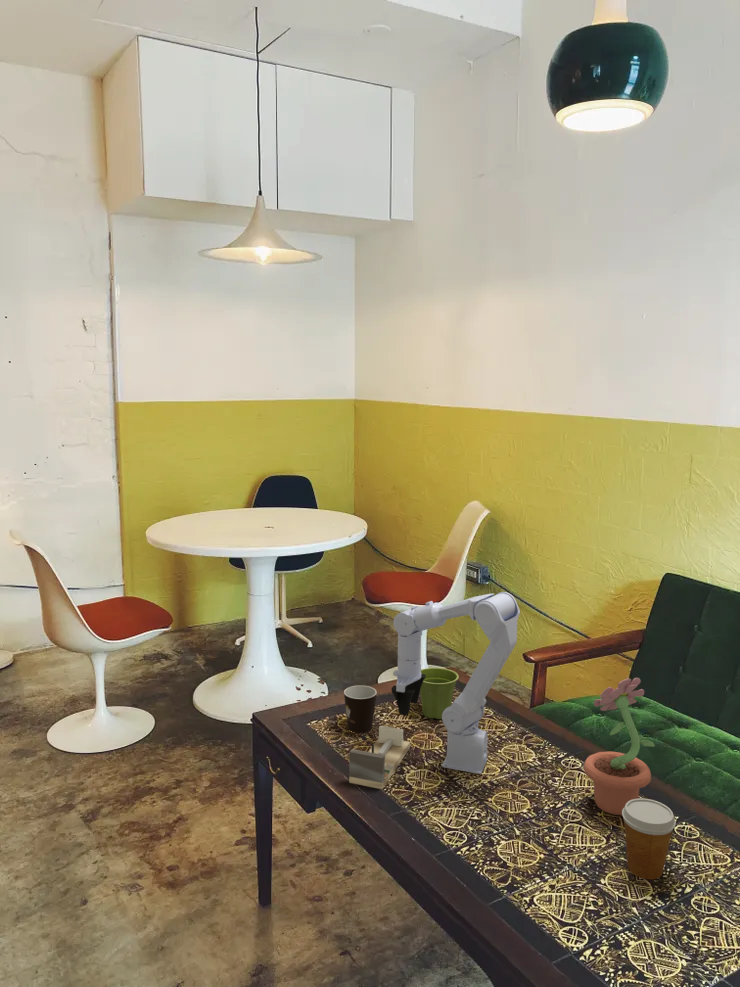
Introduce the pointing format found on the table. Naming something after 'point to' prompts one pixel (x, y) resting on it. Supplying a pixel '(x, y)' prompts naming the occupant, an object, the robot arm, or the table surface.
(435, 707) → the plant pot
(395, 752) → the beige l-shaped stand
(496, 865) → the table surface
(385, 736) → the white t-shaped block
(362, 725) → the coffee mug
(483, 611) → the robot arm
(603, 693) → the decorative flower
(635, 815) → the disposable coffee cup
